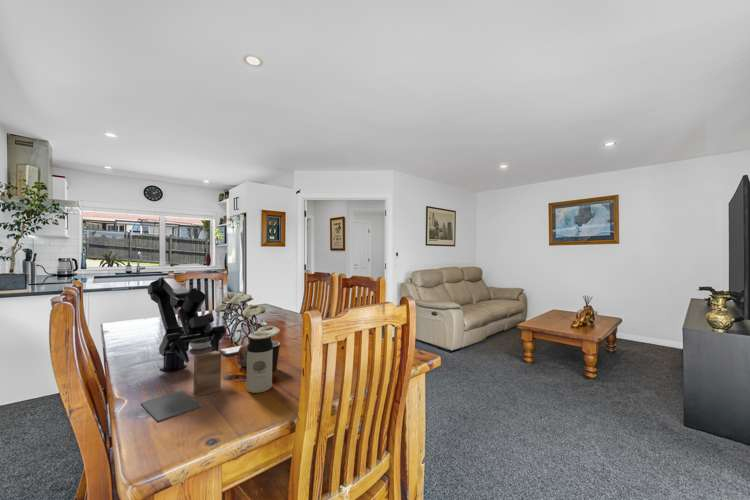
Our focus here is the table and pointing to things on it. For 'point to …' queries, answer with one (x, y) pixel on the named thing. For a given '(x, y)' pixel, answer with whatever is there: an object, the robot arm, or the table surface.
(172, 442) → the table surface
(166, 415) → the mat
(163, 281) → the robot arm
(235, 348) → the phone case
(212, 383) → the board
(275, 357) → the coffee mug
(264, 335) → the travel mug
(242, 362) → the tin
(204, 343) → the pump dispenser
